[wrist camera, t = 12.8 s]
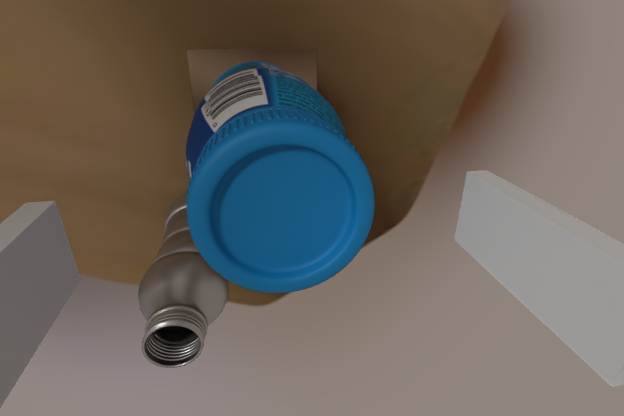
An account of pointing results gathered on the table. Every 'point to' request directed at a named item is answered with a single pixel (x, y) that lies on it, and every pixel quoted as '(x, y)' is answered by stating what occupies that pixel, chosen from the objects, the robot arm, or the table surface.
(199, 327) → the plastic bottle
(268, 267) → the blue lidded jar
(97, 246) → the table surface
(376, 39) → the table surface
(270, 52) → the brown piece
